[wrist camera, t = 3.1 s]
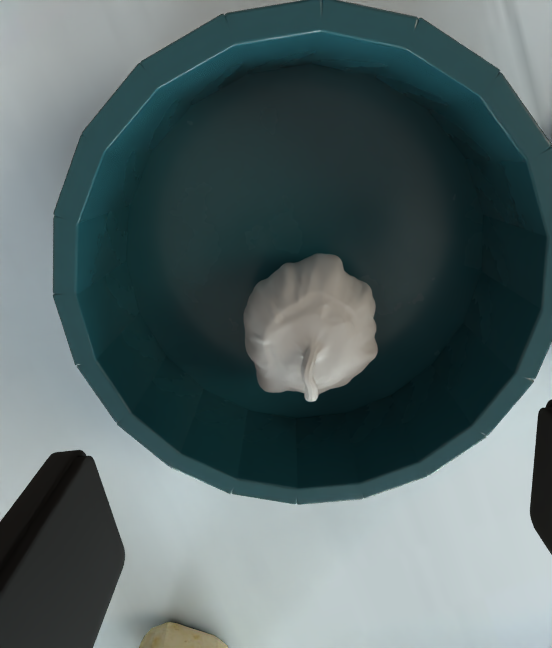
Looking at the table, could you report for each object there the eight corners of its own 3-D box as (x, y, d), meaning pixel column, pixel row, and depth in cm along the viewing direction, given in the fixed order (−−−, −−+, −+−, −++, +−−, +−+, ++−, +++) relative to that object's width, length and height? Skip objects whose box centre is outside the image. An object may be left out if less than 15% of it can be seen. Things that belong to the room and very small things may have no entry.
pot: (505, 10, 16) (602, -51, 11) (489, 406, 22) (549, 483, 17) (65, 80, 18) (-27, 53, 13) (160, 439, 24) (124, 520, 18)
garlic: (331, 386, 22) (344, 455, 17) (226, 342, 21) (207, 401, 16) (394, 274, 20) (429, 315, 15) (280, 221, 19) (276, 247, 14)
